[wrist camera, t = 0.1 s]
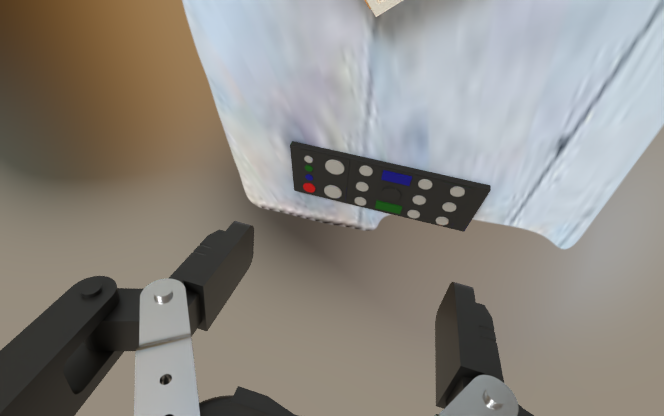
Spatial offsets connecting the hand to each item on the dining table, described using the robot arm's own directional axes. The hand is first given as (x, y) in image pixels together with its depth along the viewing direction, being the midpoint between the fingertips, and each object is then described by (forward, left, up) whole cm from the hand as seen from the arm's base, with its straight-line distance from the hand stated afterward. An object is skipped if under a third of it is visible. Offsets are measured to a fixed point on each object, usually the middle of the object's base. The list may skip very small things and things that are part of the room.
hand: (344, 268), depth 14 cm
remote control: (+24, -20, -32) cm, 45 cm away
